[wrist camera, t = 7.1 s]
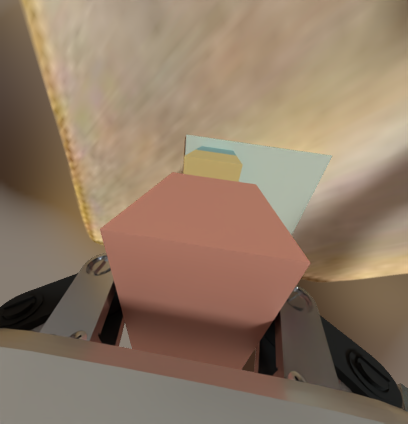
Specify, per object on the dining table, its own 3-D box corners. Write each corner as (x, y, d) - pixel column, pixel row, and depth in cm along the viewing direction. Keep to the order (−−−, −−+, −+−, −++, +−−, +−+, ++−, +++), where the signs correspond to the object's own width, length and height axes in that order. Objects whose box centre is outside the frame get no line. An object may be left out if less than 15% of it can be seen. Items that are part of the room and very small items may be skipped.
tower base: (201, 145, 23) (184, 155, 13) (233, 150, 23) (242, 164, 12) (196, 190, 27) (180, 228, 16) (224, 195, 26) (225, 235, 16)
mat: (186, 134, 23) (186, 134, 23) (330, 155, 22) (332, 155, 22) (181, 221, 31) (181, 222, 30) (288, 238, 30) (289, 240, 29)
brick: (172, 172, 9) (99, 229, 4) (256, 184, 9) (310, 263, 3) (171, 261, 12) (134, 355, 7) (230, 271, 12) (237, 375, 7)
